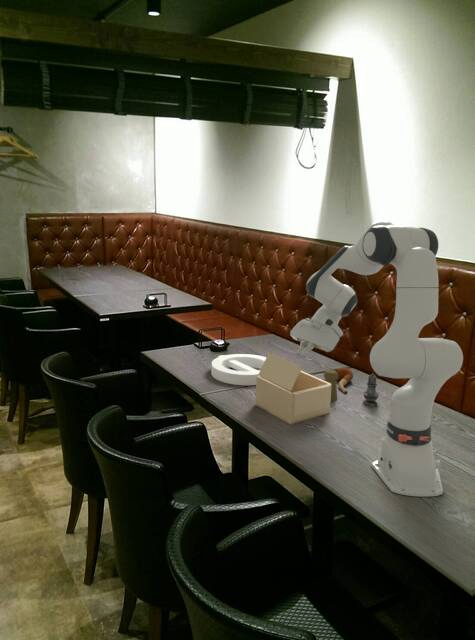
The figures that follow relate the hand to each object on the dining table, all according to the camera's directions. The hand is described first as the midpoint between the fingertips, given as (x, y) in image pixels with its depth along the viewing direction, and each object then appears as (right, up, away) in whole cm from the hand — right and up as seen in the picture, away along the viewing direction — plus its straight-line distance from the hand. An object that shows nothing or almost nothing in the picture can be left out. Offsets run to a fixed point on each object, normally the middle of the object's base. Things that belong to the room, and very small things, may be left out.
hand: (300, 353), depth 200 cm
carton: (-3, -20, +3) cm, 21 cm away
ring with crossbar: (-20, -12, +40) cm, 46 cm away
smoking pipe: (+22, -15, +29) cm, 40 cm away
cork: (+13, -18, +15) cm, 27 cm away
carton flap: (-10, -10, -4) cm, 15 cm away
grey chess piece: (+27, -20, +11) cm, 36 cm away
